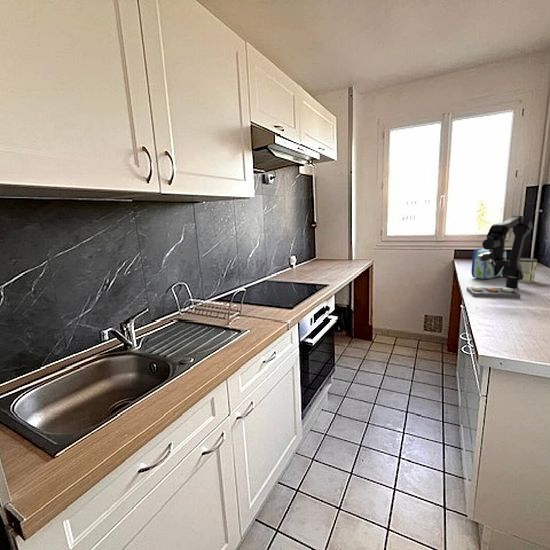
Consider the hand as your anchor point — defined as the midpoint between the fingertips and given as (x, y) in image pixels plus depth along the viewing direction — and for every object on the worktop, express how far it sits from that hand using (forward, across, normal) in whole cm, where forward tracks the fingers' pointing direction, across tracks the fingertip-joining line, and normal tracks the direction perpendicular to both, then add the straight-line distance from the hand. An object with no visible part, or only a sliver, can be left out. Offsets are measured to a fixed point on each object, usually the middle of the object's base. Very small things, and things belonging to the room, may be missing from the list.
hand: (495, 275), depth 170 cm
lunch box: (+12, -47, +10) cm, 49 cm away
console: (+10, +4, -2) cm, 11 cm away
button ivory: (+9, +4, -9) cm, 14 cm away
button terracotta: (+9, +4, -2) cm, 10 cm away
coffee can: (+12, -39, +28) cm, 50 cm away
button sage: (+9, +4, +5) cm, 11 cm away
